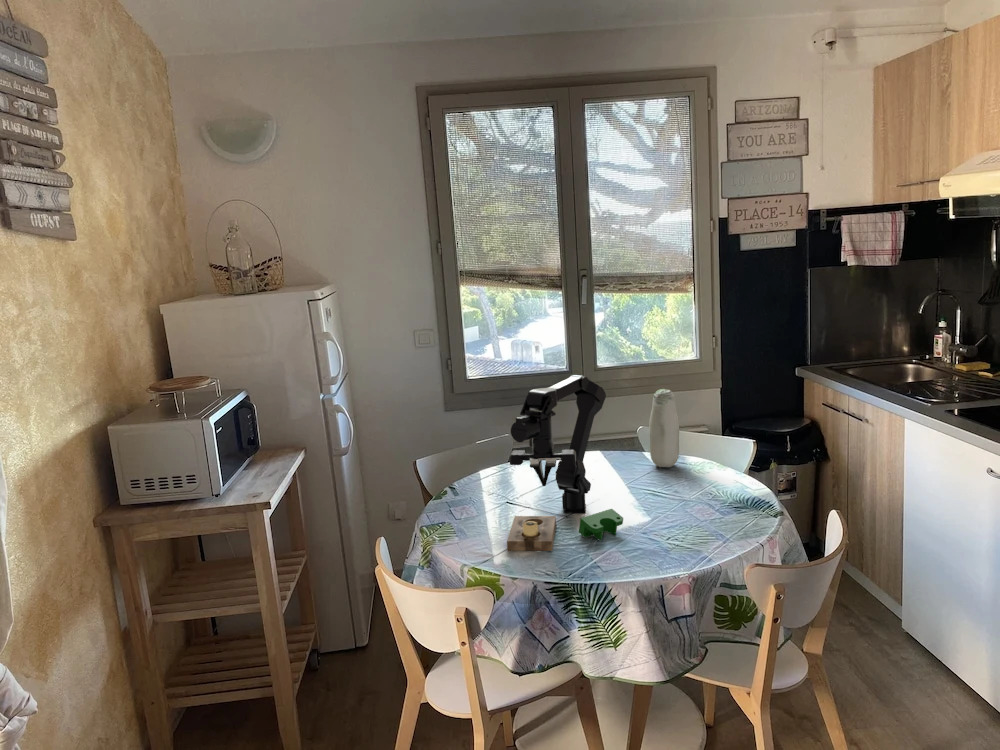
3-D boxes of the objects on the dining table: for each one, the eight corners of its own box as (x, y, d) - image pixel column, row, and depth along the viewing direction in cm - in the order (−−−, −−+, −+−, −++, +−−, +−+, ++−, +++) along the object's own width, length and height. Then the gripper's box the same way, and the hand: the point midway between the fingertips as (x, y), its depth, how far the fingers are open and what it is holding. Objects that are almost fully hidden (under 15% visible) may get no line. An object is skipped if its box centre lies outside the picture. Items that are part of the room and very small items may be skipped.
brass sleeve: (539, 541, 204) (538, 520, 203) (537, 547, 200) (536, 526, 199) (524, 541, 205) (523, 520, 203) (523, 547, 201) (522, 526, 200)
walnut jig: (556, 525, 214) (555, 516, 214) (552, 551, 197) (551, 541, 196) (515, 525, 216) (514, 515, 215) (507, 551, 199) (507, 541, 198)
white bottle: (648, 462, 266) (647, 386, 260) (677, 462, 264) (676, 385, 259) (651, 471, 256) (650, 393, 250) (681, 470, 255) (680, 392, 249)
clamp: (595, 555, 204) (589, 533, 199) (582, 543, 208) (575, 521, 203) (628, 530, 207) (622, 508, 202) (614, 519, 212) (608, 497, 207)
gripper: (575, 425, 216) (577, 476, 219) (512, 426, 219) (515, 476, 222) (574, 436, 206) (576, 489, 209) (508, 437, 208) (510, 489, 211)
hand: (544, 485), depth 213 cm, fingers closed
